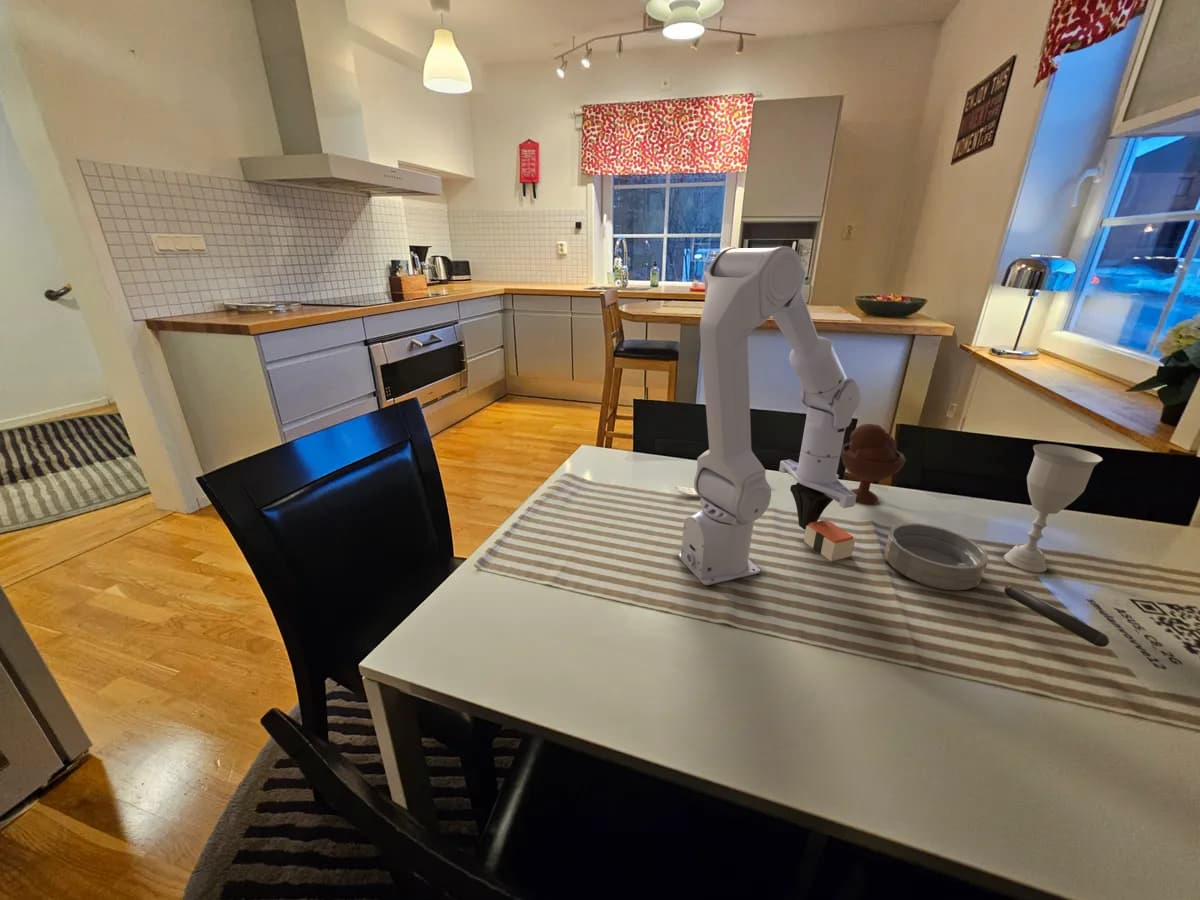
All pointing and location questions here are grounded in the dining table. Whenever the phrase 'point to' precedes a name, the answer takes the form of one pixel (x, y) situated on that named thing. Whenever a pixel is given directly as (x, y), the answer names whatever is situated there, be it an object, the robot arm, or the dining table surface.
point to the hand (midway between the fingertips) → (806, 526)
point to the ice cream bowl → (871, 459)
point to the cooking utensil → (687, 490)
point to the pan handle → (1057, 616)
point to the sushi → (829, 540)
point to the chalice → (1051, 494)
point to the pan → (935, 556)
